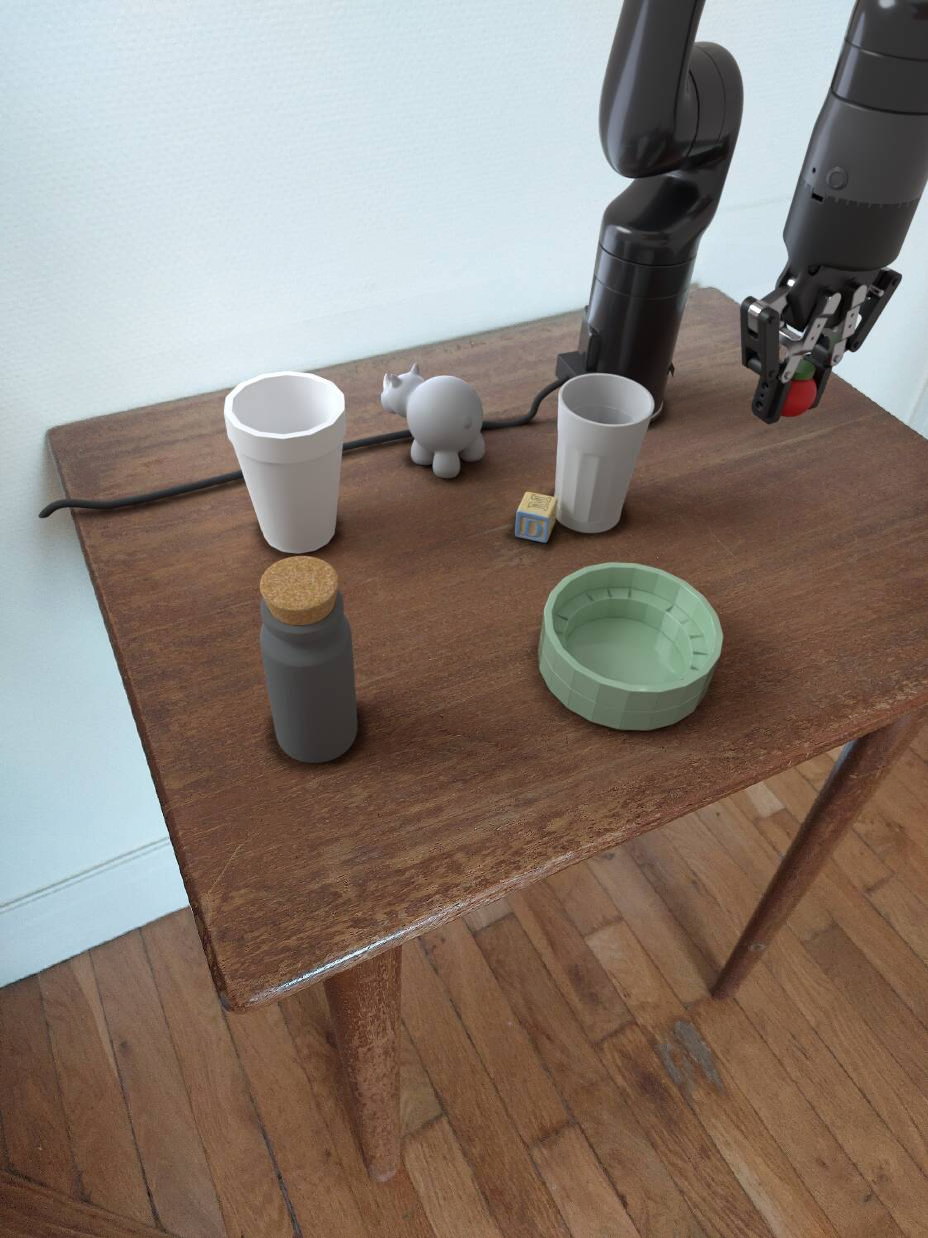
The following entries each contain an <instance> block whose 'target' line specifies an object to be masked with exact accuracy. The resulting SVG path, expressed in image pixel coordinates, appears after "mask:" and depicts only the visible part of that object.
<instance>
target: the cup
mask: <svg viewBox="0 0 928 1238" xmlns="http://www.w3.org/2000/svg"><path fill="white" fill-rule="evenodd" d="M557 399H558V401H557V447H556V462H555V463H556V465H555V466H556V467H555V482H554V483H555V485H554V494H553V497H556V498H557V499H558V502H557V510H556V518H555V520H557V521H558V523H560V524H561V525H563V526H564V527H566V528H567V529H570V530H573V531H575V532H579V533H585V534H598V533H603V532H606V531H609V530H611V529H613V528H614V527H615V526H616V525H617V524H618V523H619V521H620V519H621V515H622V510H623V507H624V503H625V499H626V496H627V493H628V491H629V488H630V483H631V481H632V478H633V474H634V471H635V469H636V465H637V462H638V460H639V455H640V452H641V449H642V446H643V443H644V440H645V437H646V434H647V432H648V428H649V425H650V423H649V422H650V419H651V416H652V413H653V410H654V400H653V397H652V395H651V394H650V393H649V391H648V390H647V389H645V388H644V387H643V386H642V385H640V384H638V383H637V382H635V381H633V380H630V379H628V378H625V377H622V376H618V375H612V374H604V373H593V374H585V375H580V376H577V377H574V378H572V379H570V380H568V381H567V382H566V383H565V384H564V385H563V386H561V387H560V389H559V391H558V398H557Z"/></svg>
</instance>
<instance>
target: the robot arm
mask: <svg viewBox="0 0 928 1238" xmlns="http://www.w3.org/2000/svg"><path fill="white" fill-rule="evenodd" d="M706 2H707V0H623V1H622V4H621V5H622V6H621V9H620V13H619V17H618V21H617V25H616V28H615V32H614V36H613V40H612V43H611V47H610V52H609V54H608V59H607V63H606V66H605V70H604V71H605V72H604V74H603V75H604V76H603V80H602V85H601V90H600V95H599V103H598V119H597V120H598V126H597V127H598V136H599V142H600V146H601V149H602V153H603V156H604V158H605V160H606V162H607V163H608V164H609V166H610V168H611V169H612V170H613V171H614V172H615V173H616V174H617V175H619V176H621V177H623V178H627V179H631V180H632V179H633V180H632V181H631V182H630V184H629V185H628V186H627V187H626V188H625V189H624V190H623V191H621V193H619V194H618V195H617V196H616V197H615V198H613V200H611V201H610V202H609V203H608V204H607V206H606V207H605V209H604V211H603V214H602V216H601V221H600V228H599V234H598V242H597V248H596V254H595V260H594V267H593V273H592V280H591V287H590V293H589V298H588V299H589V300H588V304H586V305H585V306H584V307H583V312H582V319H581V325H580V332H579V338H578V346H577V350H574V351H573V350H572V351H569V352H563V353H562V352H561V353H558V354H557V357H556V365H555V371H554V372H555V373H554V375H555V377H556V378H557V380H554V381H553V382H551V383H550V384H548V385H546V386H545V387H544V388H542V389H541V390H540V391H539V392H538V393H537V394H536V396H535V397H534V399H533V401H532V403H531V407H530V409H529V411H528V412H527V413H525V414H524V415H521V416H520V417H518V418H515V419H512V420H506V421H494V420H493V421H491V420H483V423H482V427H481V429H486V430H487V429H490V430H491V429H502V428H511V427H518V426H522V425H525V424H526V423H528V422H530V421H532V420H533V419H534V418H535V417H536V415H537V414H538V411H539V409H540V405H541V403H542V402H543V400H544V399H545V398H546V397H547V396H548V395H550V394H551V393H553V392H554V391H557V390H558V389H559V388H561V387H562V386H563V385H564V384H565V383H566V382H567V381H568V380H570V379H572V378H574V377H577V376H580V375H585V374H593V373H604V374H612V375H618V376H622V377H625V378H628V379H630V380H633V381H635V382H637V383H638V384H640V385H642V386H643V387H644V388H645V389H647V390H648V391H649V393H650V394H651V395H652V397H653V400H654V410H653V413H652V416H651V419H650V422H649V424H651V423H653V422H654V421H656V420H657V419H658V418H659V417H660V415H661V413H662V409H663V405H664V399H665V394H666V388H667V384H668V380H669V376H670V374H671V377H672V378H674V375H675V372H676V371H675V370H676V368H675V366H674V363H673V359H674V355H675V350H676V346H677V342H678V337H679V332H680V330H681V325H682V320H683V317H684V311H685V308H686V304H687V299H688V295H689V290H690V286H691V282H692V278H693V274H694V270H695V265H696V261H697V256H698V252H699V248H700V243H701V240H702V238H703V236H704V234H705V233H706V231H707V230H708V228H709V227H710V225H712V223H713V220H714V218H715V216H716V214H717V211H718V208H719V205H720V202H721V198H722V196H723V192H724V188H725V185H726V182H727V181H726V180H727V177H728V174H729V170H730V167H731V164H732V161H733V157H734V154H735V150H736V146H737V143H738V139H739V135H740V131H741V126H742V121H743V114H744V106H745V105H744V103H745V90H744V89H745V88H744V81H743V76H742V71H741V69H740V67H739V63H738V62H737V59H736V58H735V56H734V55H733V54H732V53H731V51H729V50H728V49H727V48H726V47H724V46H723V45H721V44H719V43H717V42H713V41H707V40H705V41H704V40H702V41H701V40H700V41H696V38H697V34H698V30H699V26H700V24H701V23H700V22H701V18H702V15H703V11H704V9H705V5H706ZM831 76H832V77H831V80H830V83H829V84H830V85H829V87H828V90H827V93H826V96H825V99H824V101H823V103H822V105H821V108H820V110H819V113H818V115H817V117H816V119H815V122H814V124H813V128H812V131H811V133H810V138H809V141H808V143H807V147H806V151H805V154H804V158H803V161H802V164H801V169H800V171H799V175H798V178H797V182H796V185H795V189H794V192H793V196H792V199H791V203H790V205H789V209H788V213H787V216H786V219H785V223H784V227H783V229H782V240H783V243H784V245H785V247H786V252H787V261H786V264H785V266H784V268H783V269H782V271H781V272H780V274H779V276H778V278H777V279H776V281H775V284H774V285H775V286H774V289H773V290H771V292H769V293H768V294H766V295H765V296H763V297H762V298H760V299H758V298H756V297H755V296H752V295H748V296H746V297H745V298H744V299H743V301H742V302H741V303H740V307H739V321H740V322H739V323H740V350H741V351H740V352H741V365H742V366H743V367H745V368H746V369H748V370H750V371H751V372H753V373H754V374H756V375H758V376H759V378H758V382H757V384H756V389H755V391H754V394H753V398H752V401H751V405H750V407H751V408H750V409H751V411H752V414H753V416H755V417H756V418H758V419H759V420H761V421H762V422H764V423H765V424H766V425H771V424H774V423H778V422H779V421H780V418H781V417H782V416H781V413H782V410H783V407H784V404H785V401H786V398H787V395H788V392H789V389H790V386H791V384H792V380H790V379H791V378H792V377H793V375H794V373H795V371H796V369H797V367H798V364H799V362H800V360H801V359H803V360H806V361H808V362H810V363H812V364H813V365H814V366H815V372H814V375H813V379H814V381H815V384H816V388H817V392H816V398H815V400H814V403H813V404H812V406H811V407H810V408H809V409H808V410H807V411H809V410H812V409H815V408H817V407H818V406H819V404H820V402H821V399H822V396H823V394H824V392H825V389H826V386H827V384H828V381H829V378H830V376H831V373H832V371H833V367H835V366H837V365H838V364H840V362H841V361H842V360H843V358H844V354H845V353H846V352H848V351H849V352H851V353H856V352H857V351H859V350H860V348H861V347H862V345H863V344H864V342H865V341H866V339H867V337H868V336H869V334H870V332H871V331H872V330H873V327H874V326H875V324H876V323H877V321H878V320H879V319H880V316H881V315H882V313H883V312H884V310H885V308H886V307H887V305H888V304H889V302H890V300H891V298H892V297H893V296H894V293H896V290H897V289H898V287H899V286H900V284H901V282H902V279H903V274H902V273H900V272H898V271H896V270H894V269H892V268H891V267H888V266H890V265H891V264H893V263H894V262H895V261H896V260H897V258H898V257H899V255H900V253H901V250H902V249H903V245H904V243H905V240H906V238H907V235H908V233H909V229H910V227H911V224H912V222H913V219H914V218H915V217H914V216H915V215H916V212H917V209H918V207H919V204H920V202H921V199H922V196H923V194H924V191H925V188H926V186H927V184H928V0H855V1H854V4H853V7H852V9H851V12H850V15H849V18H848V21H847V25H846V29H845V33H844V35H843V39H842V43H841V47H840V50H839V53H838V55H837V60H836V63H835V67H834V70H833V73H832V75H831ZM859 316H860V317H861V318H860V320H859V322H858V318H859ZM857 323H858V324H857ZM789 327H790V328H792V329H794V330H796V331H797V332H799V333H801V335H799V334H797V333H796V332H794V331H792V330H791V329H789ZM782 346H783V347H785V348H786V349H787V352H786V355H785V357H784V360H782V359H781V358H780V350H781V348H782ZM409 438H414V437H413V435H412V433H411V432H410V429H405V430H399V431H394V432H388V433H383V434H378V435H373V436H369V437H363V438H360V439H355V440H351V441H347V442H343V448H342V453H343V452H347V451H350V450H355V449H359V448H364V447H369V446H373V445H377V444H383V443H386V442H393V441H396V440H402V439H409ZM241 479H244V476H243V473H242V470H241V469H240V470H235V471H232V472H228V473H224V474H221V475H220V474H219V475H216V476H213V477H209V478H204V479H201V480H197V481H193V482H188V483H185V484H180V485H176V486H173V487H168V488H164V489H161V490H160V489H159V490H155V491H151V492H147V493H143V494H138V495H133V496H127V497H123V498H122V497H121V498H115V499H109V500H94V499H93V500H92V499H91V500H90V499H81V498H62V499H59V500H55V501H52V502H50V503H49V504H48V505H46V506H45V507H43V508H42V510H41V511H40V513H39V514H38V518H40V519H46V518H49V517H50V516H51V515H52V514H54V512H56V511H58V510H61V509H66V508H76V509H88V510H112V509H119V508H124V507H130V506H136V505H142V504H146V503H149V502H154V501H158V500H162V499H166V498H171V497H174V496H180V495H182V494H186V493H191V492H195V491H199V490H203V489H207V488H210V487H214V486H219V485H222V484H226V483H229V482H233V481H237V480H241Z"/></svg>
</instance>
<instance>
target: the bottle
mask: <svg viewBox="0 0 928 1238" xmlns="http://www.w3.org/2000/svg"><path fill="white" fill-rule="evenodd" d="M339 585H340V582H339V575H338V572H337V571H336V569H335V568H334V567H333V566H332V565H331V564H330V563H328V562H326V561H325V560H323V559H320V558H317V557H314V556H308V555H296V556H290V557H286V558H283V559H281V560H279V561H276V562H275V563H273V564H272V565H271V566H269V567H268V568H267V569H266V570H265V572H264V573H263V574H262V576H261V578H260V582H259V590H260V593H261V596H262V598H261V600H260V605H259V606H260V607H259V610H260V617H261V621H262V625H261V627H260V631H259V644H260V645H259V647H260V652H261V653H260V654H261V659H262V664H263V671H264V676H265V681H266V687H267V692H268V699H269V705H270V709H271V716H272V720H273V726H274V732H275V737H276V739H277V740H276V741H277V743H278V745H279V747H280V748H281V750H282V752H284V753H285V754H286V755H288V756H289V757H290V758H291V759H294V760H296V761H298V762H302V763H307V764H323V763H327V762H330V761H333V760H335V759H338V758H339V757H341V756H342V755H343V754H345V753H346V752H347V751H348V750H349V749H350V748H351V746H352V745H353V743H354V742H355V739H356V738H357V733H358V711H357V710H358V709H357V694H356V679H355V677H356V676H355V665H354V663H355V662H354V648H353V647H354V646H353V636H352V629H351V625H350V621H349V619H348V617H347V616H346V615H345V604H344V603H345V602H344V598H343V595H342V591H341V590H340V589H339Z"/></svg>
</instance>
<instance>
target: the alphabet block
mask: <svg viewBox="0 0 928 1238" xmlns="http://www.w3.org/2000/svg"><path fill="white" fill-rule="evenodd" d="M557 502H558V499H557V498H556V497H554V496H551V495H546V494H541V493H537V492H531V491H526V492H525V493H524V495H523V497H522V499H521V501H520V503H519V506H518V508H517V510H516V513H515V514H516V515H515V526H514V536H515V537H516V538H519V539H520V538H521V539H525V540H528V541H529V540H530V541H534V542H539V543H542V544H543V543H544V544H545V543H548V541H549V538H550V536H551V534H552V531H553V529H554V526H555V523H556V510H557Z"/></svg>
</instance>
